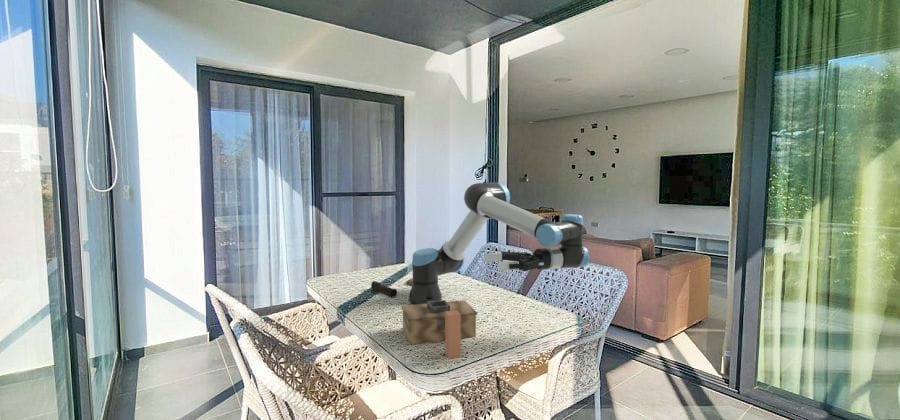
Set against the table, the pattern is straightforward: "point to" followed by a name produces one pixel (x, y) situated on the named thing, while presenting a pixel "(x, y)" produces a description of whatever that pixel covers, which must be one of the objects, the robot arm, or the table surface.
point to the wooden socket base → (436, 320)
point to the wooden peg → (452, 334)
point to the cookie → (410, 282)
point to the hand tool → (383, 289)
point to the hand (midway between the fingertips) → (491, 261)
